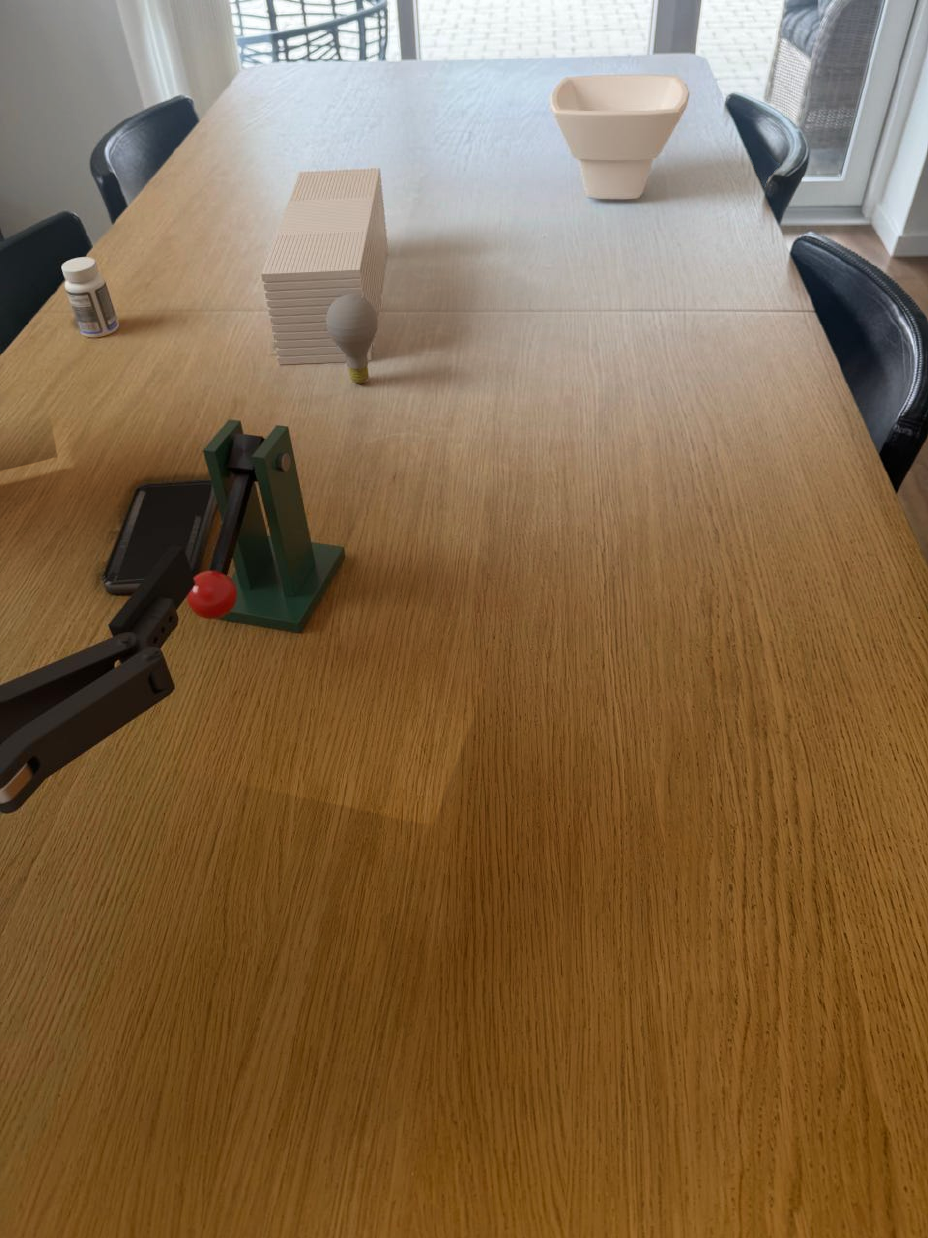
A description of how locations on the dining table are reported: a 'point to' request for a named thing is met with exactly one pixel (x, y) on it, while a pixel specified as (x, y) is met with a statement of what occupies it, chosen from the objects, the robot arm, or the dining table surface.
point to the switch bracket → (272, 536)
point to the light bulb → (353, 332)
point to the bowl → (617, 127)
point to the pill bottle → (89, 297)
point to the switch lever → (227, 536)
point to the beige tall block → (324, 259)
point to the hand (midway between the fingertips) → (78, 546)
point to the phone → (160, 531)
